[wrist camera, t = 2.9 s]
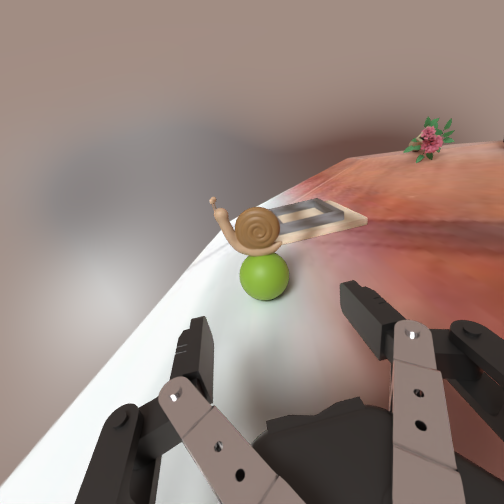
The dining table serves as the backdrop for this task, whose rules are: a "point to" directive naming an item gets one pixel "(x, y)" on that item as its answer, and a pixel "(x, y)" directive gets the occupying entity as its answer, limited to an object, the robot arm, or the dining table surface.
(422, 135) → the flower vase
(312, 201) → the board
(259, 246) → the snail figurine
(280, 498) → the robot arm
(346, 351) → the dining table surface
